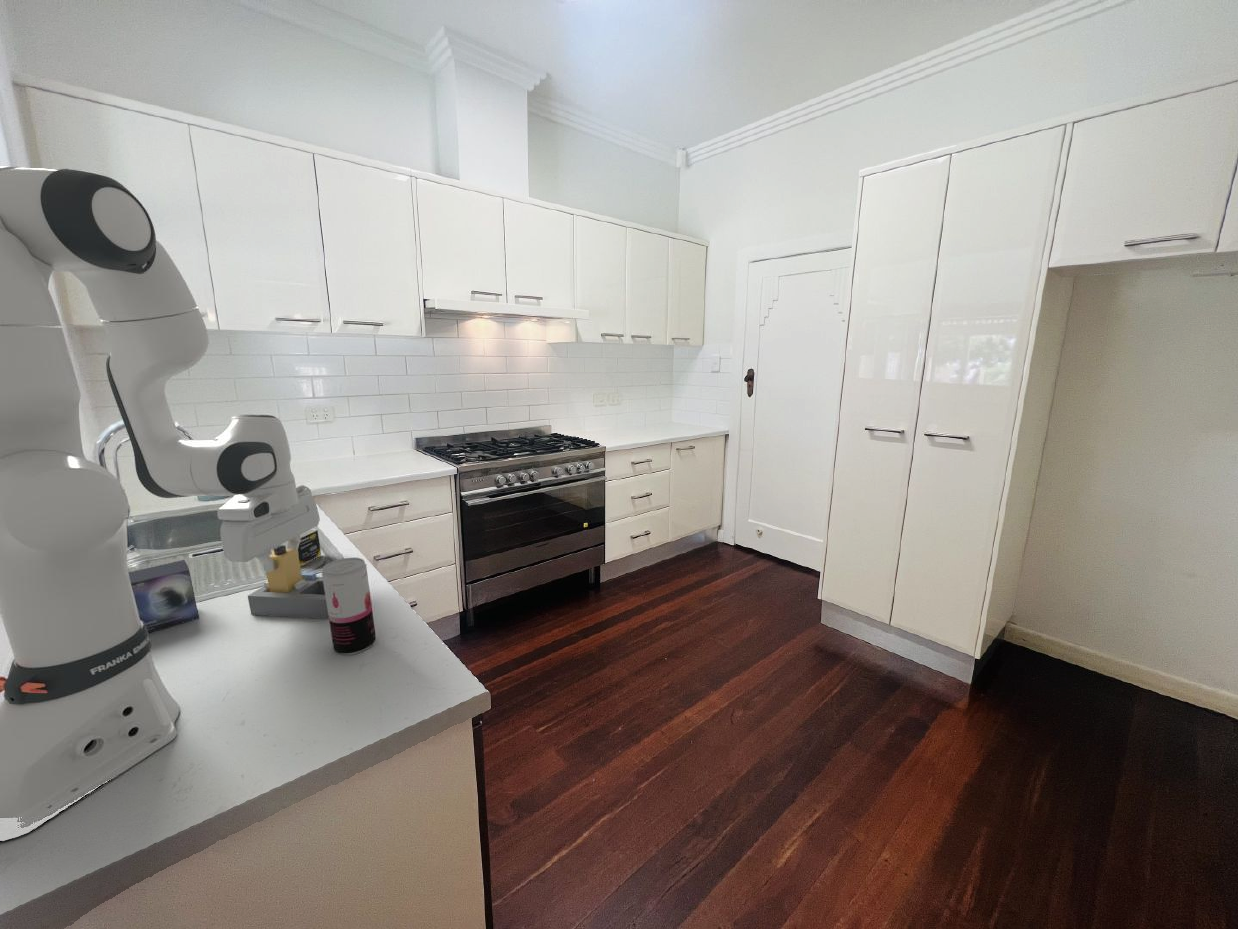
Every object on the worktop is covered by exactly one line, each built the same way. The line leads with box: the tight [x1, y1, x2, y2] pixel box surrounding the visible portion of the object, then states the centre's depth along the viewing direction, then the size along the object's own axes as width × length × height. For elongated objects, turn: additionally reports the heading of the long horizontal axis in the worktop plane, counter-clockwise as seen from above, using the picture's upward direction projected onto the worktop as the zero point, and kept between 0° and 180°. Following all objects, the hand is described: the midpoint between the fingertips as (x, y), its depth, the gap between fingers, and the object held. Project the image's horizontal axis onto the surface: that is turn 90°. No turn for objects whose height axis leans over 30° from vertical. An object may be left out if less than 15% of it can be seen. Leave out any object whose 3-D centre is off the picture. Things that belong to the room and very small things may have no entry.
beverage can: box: [321, 557, 377, 656], centre depth 85 cm, size 6×6×15 cm
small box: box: [128, 559, 200, 634], centre depth 93 cm, size 11×6×10 cm, turn 136°
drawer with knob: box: [265, 545, 303, 593], centre depth 100 cm, size 4×4×10 cm
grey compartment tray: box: [247, 571, 329, 620], centre depth 100 cm, size 9×16×5 cm, turn 84°
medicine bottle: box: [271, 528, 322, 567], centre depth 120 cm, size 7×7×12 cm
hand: (282, 564), depth 99 cm, fingers closed on drawer with knob, 4 cm apart
